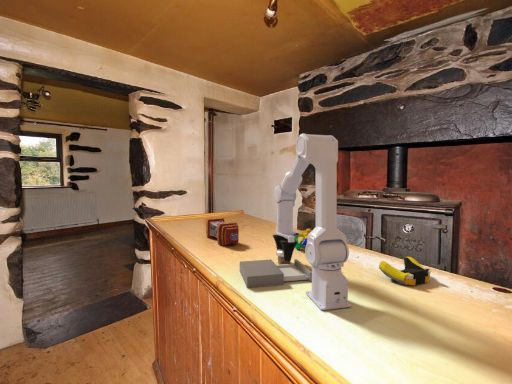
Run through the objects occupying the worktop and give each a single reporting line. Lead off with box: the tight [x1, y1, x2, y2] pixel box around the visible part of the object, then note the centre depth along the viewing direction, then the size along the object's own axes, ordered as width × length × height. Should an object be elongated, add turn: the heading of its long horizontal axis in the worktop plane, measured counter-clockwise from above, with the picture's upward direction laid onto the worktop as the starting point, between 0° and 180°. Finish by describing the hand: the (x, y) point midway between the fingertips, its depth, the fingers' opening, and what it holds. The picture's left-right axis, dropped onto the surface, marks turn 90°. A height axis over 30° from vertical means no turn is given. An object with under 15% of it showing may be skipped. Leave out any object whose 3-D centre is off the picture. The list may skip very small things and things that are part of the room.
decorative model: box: [293, 228, 312, 250], centre depth 114 cm, size 13×9×15 cm
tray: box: [276, 258, 312, 283], centre depth 83 cm, size 13×11×2 cm
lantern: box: [205, 217, 240, 246], centre depth 125 cm, size 10×9×30 cm
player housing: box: [239, 259, 285, 289], centre depth 81 cm, size 13×11×3 cm
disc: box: [275, 249, 284, 257], centre depth 93 cm, size 6×6×1 cm
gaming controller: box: [378, 256, 432, 286], centre depth 81 cm, size 15×6×10 cm
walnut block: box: [277, 256, 291, 265], centre depth 93 cm, size 4×4×4 cm
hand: (284, 257), depth 93 cm, fingers open, 7 cm apart
